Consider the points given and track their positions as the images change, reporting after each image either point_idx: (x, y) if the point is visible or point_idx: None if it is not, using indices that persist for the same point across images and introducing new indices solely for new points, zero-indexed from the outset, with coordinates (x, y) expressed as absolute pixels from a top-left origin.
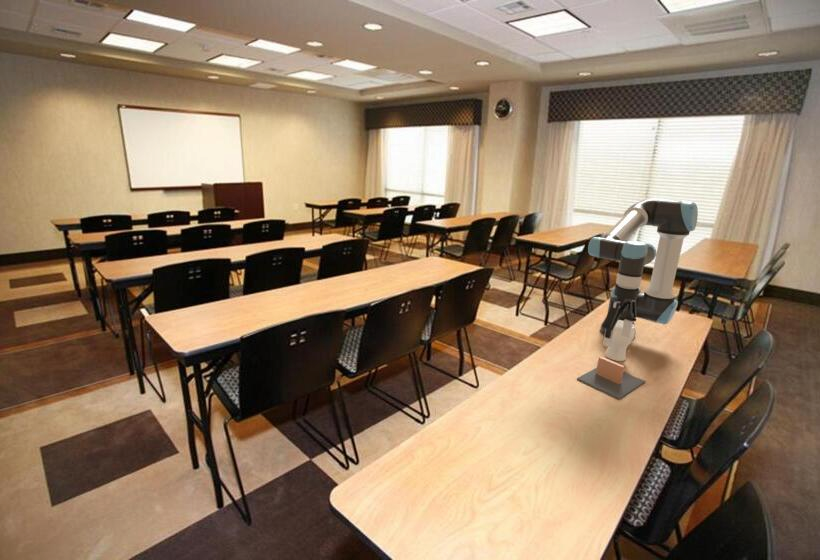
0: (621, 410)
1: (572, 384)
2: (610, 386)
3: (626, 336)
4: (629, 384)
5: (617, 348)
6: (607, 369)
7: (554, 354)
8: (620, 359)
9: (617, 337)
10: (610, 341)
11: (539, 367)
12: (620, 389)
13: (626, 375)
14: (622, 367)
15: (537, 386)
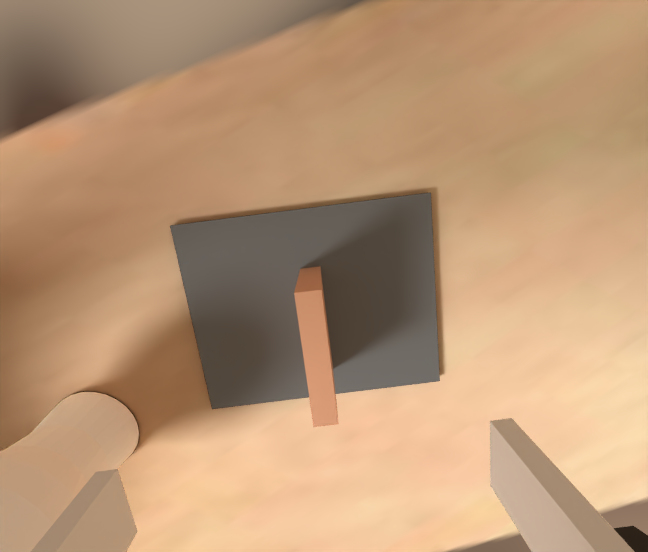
0: (500, 134)
1: (488, 360)
2: (374, 272)
3: (119, 495)
4: (276, 242)
5: (82, 457)
6: (329, 345)
7: (336, 540)
8: (103, 401)
9: (46, 528)
10: (556, 476)
11: (484, 496)
12: (356, 235)
13: (212, 299)
14: (321, 290)
15: (618, 408)
